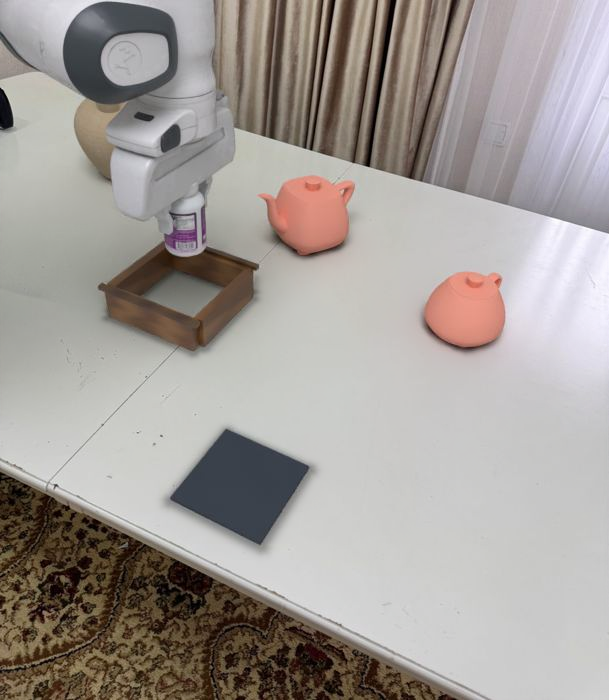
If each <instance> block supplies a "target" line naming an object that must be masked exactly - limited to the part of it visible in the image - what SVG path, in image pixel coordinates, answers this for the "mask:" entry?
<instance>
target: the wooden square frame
mask: <svg viewBox="0 0 609 700" xmlns="http://www.w3.org/2000/svg"><path fill="white" fill-rule="evenodd" d="M174 269H175V270H176V271H180V272H183V273H185V274H188V275H190V276H192V277H196V278H198V279H201V280H204V281H207V282H208V283H211V284H214V285H217V286H220V287H222V288H223V289H222V290H221V291H219V292H218V294H217V295H215V296H214V297H213V298H212V299H211V300H209V302H208V303H207V304H206V305H205V306H204V307H203V308H202V309H201V310H199V311H198V312H197V313H196V315H194V316H191V315H188V314H185V313H183V312H181V311H178V310H176V309H173V308H170V307H168V306H166V305H163V304H160V303H158V302H156V301H153V300H150V299H148V298H145V297H143V296H142V295H143V294H145V292H147V291H148V290H149V289H150V288H152V287H153V286H154V285H155V284H157V283H158V282H159V281H160V280H161V279H163V278H164V277H166V275H168V274H169V273H170V272H171V271H173V270H174ZM259 269H260V264H259V263H256V262H253V261H250V260H248V259H244V258H242V257H239V256H237V255H234V254H231V253H228V252H225V251H222V250H219V249H217V248H214V247H211V246H208V245H206V248H205V249H204V251H203V252H201V253H200V254H198V255H194V256H189V257H180V256H176V255H174V254H172V253H170V252H169V251H168V250H167V248H166V246H165V240H162V241H161V242H160V243H158V244H157V245H156V246H154V247H153V248H152V249H151V250H149V251H147V253H145V254H143V255H142V256H141V257H140V258H139V259H137V260H136V261H134V262H133V263H132V264H130V265H129V266H128V267H126V268H125V269H124V270H123V271H121V272H120V273H119V274H117V275H116V276H114V277H113V278H112V279H111V280H109V281H108V282H106V283H105V282H100V283H99V284H98V285H97V289H98V291H101V292H103V293H104V297H105V303H106V308H107V313H108V317H110V318H112V319H114V320H117V321H119V322H121V323H124V324H127V325H129V326H131V327H134V328H135V329H139V330H141V331H143V332H146V333H149V334H151V335H153V336H155V337H159V338H160V339H163V340H165V341H167V342H170V343H172V344H174V345H177V346H179V347H181V348H185V349H187V350H189V351H192V352H194V351H195V350H197V348H199V346H200V347H203V348H205V347H206V346H207V345H208V344H209V343H210V342H211V341H212V340H213V339H214V338H215V337H216V336H217V335H218V334H219V333H220V332H221V331H222V329H224V328H225V327H226V326H227V325H228V324H229V323H230V321H231V320H233V319H234V318H235V316H237V314H238V313H240V311H241V310H242V309H243V308H244V307H245V306H246V305H248V303H249V302H251V300H253V294H254V272H257V271H258V270H259Z"/></svg>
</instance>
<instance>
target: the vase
mask: <svg viewBox="0 0 609 700" xmlns="http://www.w3.org/2000/svg"><path fill="white" fill-rule="evenodd" d="M126 103H127V101H126V102H123V103H119V104H113V105H107V104H101V103H97V102H94V101H92V100H89V99H87V98H85V99H83V100H82V102H80V104H79V105H78V107H77V108H76V111H75V112H74V117H73V130H74V133H75V138H76V140H77V142H78V144H79V146H80V148H81V150H82V151H83V153H84V155H85V156H86V157H87V159H88V160H89V161H90V163H91V164H92V165H93V166H94V167H95V168H96V170H97V171H98V172H99V173H100V174H101V175H103V176H104V177H105V178H107V179H109V180H111V169H110V161H111V155H112V152H113V150H114V148H115V147H116V146H115V145H113V144H110V143H109V142H108V141H107V137H106V127H107V125H108V123H109V122H110V121H111V120H112V119H113V118H114V117H115V116H116V115H117V114H118V113H119V111H120V110H121V109H122V108H123V107H124V105H125V104H126Z"/></svg>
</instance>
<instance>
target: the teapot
mask: <svg viewBox="0 0 609 700" xmlns="http://www.w3.org/2000/svg"><path fill="white" fill-rule="evenodd" d="M355 189H356V184H355V182H354V181H352V180H343V181H341V182H338V183H336V184H334V183H333V182H331V181H329V180H328V179H326V178H324V177H322V176H319V175H316V174H315V175H314V174H312V175H305V176H300V177H299V176H298V177H296V178H292V179H289V180H287V181H285V182H283V183H282V185H281V187H280V189H279V192H278V193H277V194H276V197H274V196H273V195H271V194H268V193H258V194H257V196H258V197H259V198H261V199H262V200H264V202H265V203H266V209H267V211H266V212H267V219H268V222H269V224H270V226H271V227H272V228H273V229H274V230H275V232H276V234H277V235H278V236H279V238H280V239H281V240H282V241H283V242H284V244H286V245H288V246H289V247H290V248H293V249H294V250H296V252H297V254H298V255H300V256H308V255H310V254H312V253H317V252H321V251H325V250H329V249H332V248H335V247H337V246H339V245H340V244H342V243H343V242H344V240H345V239H346V238H347V237H348V234H349V232H350V231H349V229H350V221H349V213H348V209H347V205H348V203H349V202H350V200H351V198H352V196H353V194H354V192H355ZM341 191H343V192H341Z"/></svg>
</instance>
